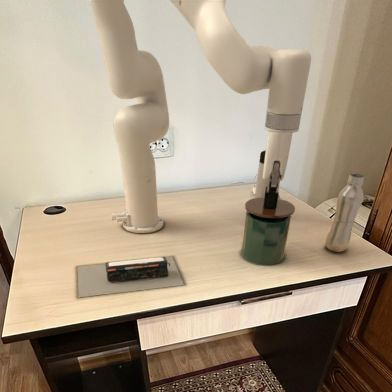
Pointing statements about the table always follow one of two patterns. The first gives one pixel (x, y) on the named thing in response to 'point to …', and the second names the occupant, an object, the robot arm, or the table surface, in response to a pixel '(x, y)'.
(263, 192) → the travel mug
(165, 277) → the grey board with block
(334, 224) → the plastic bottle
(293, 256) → the table surface
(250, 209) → the lid
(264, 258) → the green ceramic cup
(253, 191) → the woman figurine
